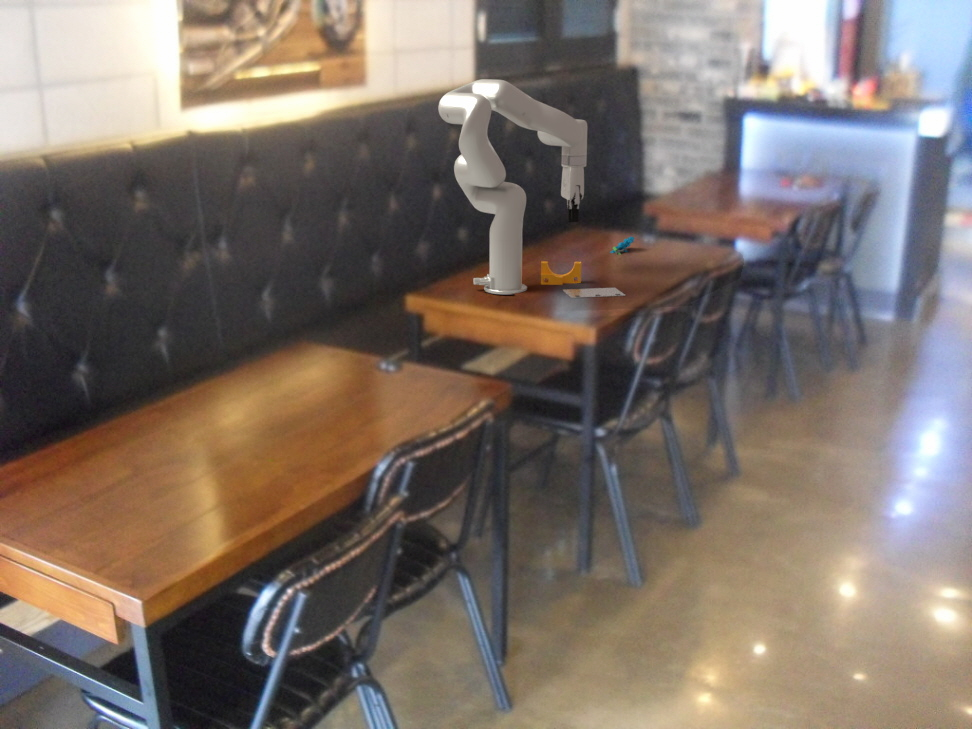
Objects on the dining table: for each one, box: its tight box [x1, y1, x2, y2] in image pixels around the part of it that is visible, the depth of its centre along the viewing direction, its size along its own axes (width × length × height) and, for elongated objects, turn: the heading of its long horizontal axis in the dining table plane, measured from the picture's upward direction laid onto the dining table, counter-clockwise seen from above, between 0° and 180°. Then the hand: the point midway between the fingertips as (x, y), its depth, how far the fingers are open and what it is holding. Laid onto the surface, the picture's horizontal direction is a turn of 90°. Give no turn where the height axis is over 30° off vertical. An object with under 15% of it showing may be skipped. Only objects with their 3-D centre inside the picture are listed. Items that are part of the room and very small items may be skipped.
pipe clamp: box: [540, 260, 582, 286], centre depth 316 cm, size 12×4×6 cm, turn 87°
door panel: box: [562, 287, 626, 299], centre depth 304 cm, size 16×10×1 cm, turn 101°
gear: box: [609, 235, 635, 256], centre depth 354 cm, size 11×6×10 cm
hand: (572, 221), depth 323 cm, fingers closed
